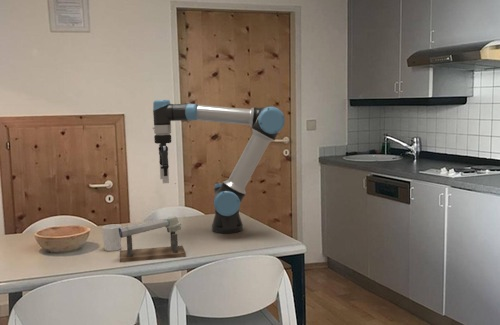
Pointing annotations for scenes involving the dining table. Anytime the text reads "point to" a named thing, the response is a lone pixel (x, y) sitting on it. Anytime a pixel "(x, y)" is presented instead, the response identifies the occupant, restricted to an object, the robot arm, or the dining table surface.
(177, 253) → the hook board
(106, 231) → the white cup
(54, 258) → the dining table surface
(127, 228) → the grey handled tool
